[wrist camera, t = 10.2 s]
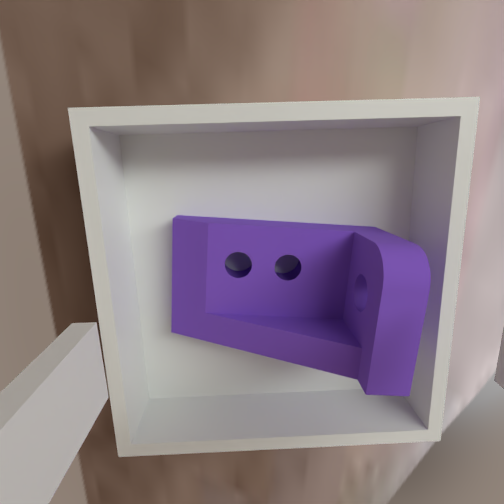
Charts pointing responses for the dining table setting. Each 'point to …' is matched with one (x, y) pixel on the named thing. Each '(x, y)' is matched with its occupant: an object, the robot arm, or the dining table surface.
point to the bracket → (305, 295)
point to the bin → (275, 209)
